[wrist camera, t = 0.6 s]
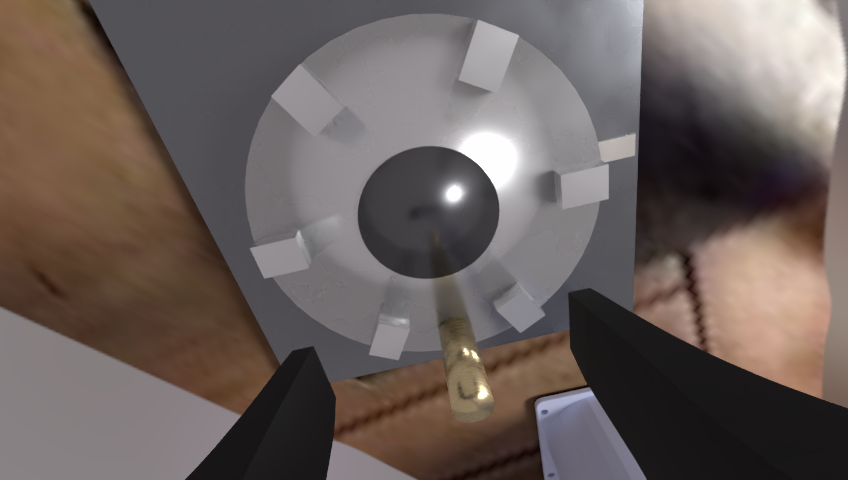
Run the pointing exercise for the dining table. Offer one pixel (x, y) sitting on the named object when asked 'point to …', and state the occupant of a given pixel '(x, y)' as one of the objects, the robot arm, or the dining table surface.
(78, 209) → the dining table surface
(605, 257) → the base plate
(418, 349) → the tabbed hub disc
